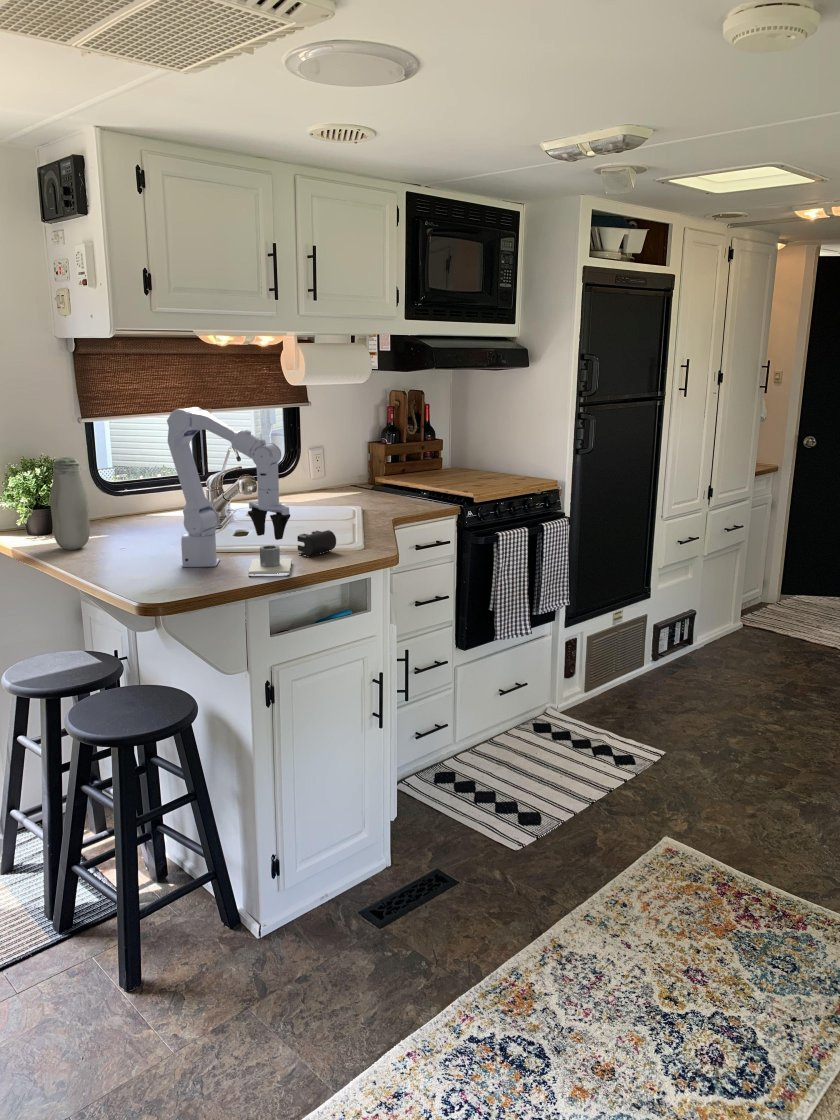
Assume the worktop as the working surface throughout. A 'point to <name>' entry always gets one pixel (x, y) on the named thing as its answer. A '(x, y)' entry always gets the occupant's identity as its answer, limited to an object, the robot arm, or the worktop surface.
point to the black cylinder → (316, 542)
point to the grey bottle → (69, 505)
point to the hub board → (282, 568)
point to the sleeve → (269, 556)
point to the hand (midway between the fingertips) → (269, 537)
